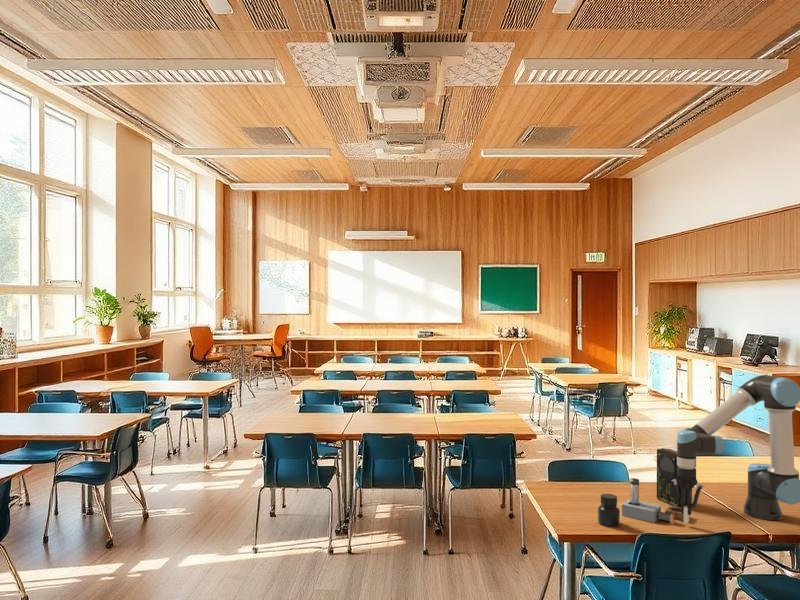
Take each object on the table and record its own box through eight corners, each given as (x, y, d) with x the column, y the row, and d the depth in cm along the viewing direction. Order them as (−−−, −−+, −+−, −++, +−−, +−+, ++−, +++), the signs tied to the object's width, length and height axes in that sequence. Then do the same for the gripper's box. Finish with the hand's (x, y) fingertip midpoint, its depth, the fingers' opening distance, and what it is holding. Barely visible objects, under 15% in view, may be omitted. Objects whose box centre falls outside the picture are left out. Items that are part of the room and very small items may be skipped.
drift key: (675, 521, 258) (675, 512, 258) (673, 524, 255) (673, 515, 255) (654, 517, 264) (654, 508, 264) (651, 519, 261) (651, 510, 261)
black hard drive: (654, 498, 290) (654, 448, 291) (668, 497, 293) (668, 447, 293) (677, 509, 275) (677, 455, 276) (692, 507, 278) (692, 454, 278)
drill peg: (640, 514, 268) (640, 479, 268) (637, 516, 265) (637, 481, 265) (631, 512, 270) (631, 477, 270) (629, 514, 267) (629, 479, 267)
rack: (689, 517, 265) (689, 509, 265) (684, 522, 258) (684, 514, 258) (670, 513, 270) (670, 505, 270) (665, 517, 264) (665, 510, 264)
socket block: (660, 516, 265) (660, 505, 265) (654, 522, 257) (654, 511, 257) (629, 509, 274) (629, 499, 274) (621, 515, 266) (622, 504, 266)
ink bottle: (615, 519, 260) (615, 492, 260) (623, 527, 251) (624, 499, 252) (594, 519, 260) (594, 492, 260) (601, 527, 251) (601, 499, 251)
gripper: (705, 467, 253) (704, 522, 252) (672, 462, 261) (672, 515, 260) (701, 471, 247) (700, 527, 246) (668, 466, 255) (667, 520, 255)
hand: (686, 521), depth 253 cm, fingers closed
